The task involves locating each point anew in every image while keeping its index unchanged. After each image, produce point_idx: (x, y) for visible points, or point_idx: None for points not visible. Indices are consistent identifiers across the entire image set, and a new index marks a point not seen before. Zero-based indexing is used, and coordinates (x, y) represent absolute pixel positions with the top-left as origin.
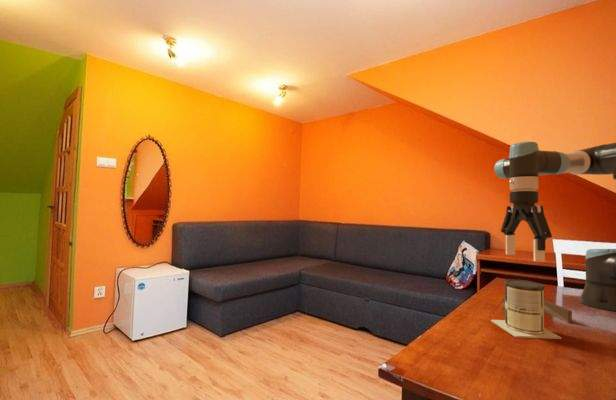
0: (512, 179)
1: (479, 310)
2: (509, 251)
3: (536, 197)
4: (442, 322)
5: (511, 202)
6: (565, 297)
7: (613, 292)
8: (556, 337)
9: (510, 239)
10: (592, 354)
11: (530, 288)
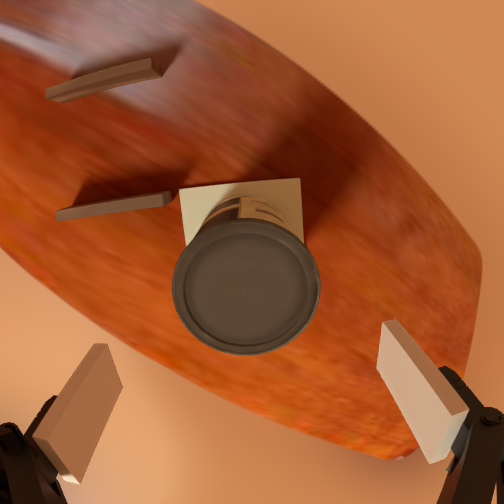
0: None
1: (108, 289)
2: (110, 386)
3: None
4: (234, 403)
5: None
6: None
7: None
8: (300, 190)
9: (77, 442)
10: (377, 167)
11: (317, 301)
